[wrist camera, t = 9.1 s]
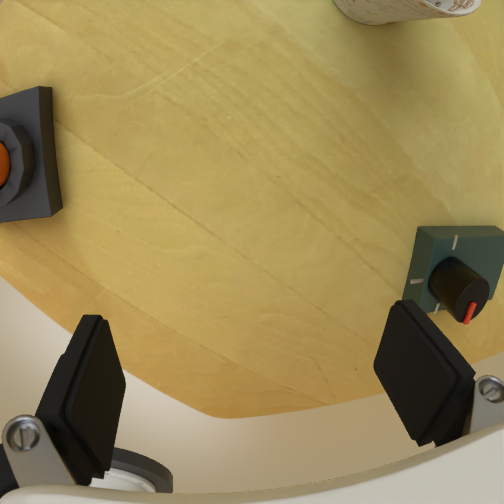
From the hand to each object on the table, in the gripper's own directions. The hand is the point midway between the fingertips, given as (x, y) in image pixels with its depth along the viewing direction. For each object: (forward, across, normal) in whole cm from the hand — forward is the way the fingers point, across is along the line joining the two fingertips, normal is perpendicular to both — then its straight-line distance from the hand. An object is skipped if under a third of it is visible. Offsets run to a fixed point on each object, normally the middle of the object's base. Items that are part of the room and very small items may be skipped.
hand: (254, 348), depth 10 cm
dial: (+13, -20, +6) cm, 25 cm away
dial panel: (+16, -24, +6) cm, 29 cm away
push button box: (+16, +18, -5) cm, 25 cm away
